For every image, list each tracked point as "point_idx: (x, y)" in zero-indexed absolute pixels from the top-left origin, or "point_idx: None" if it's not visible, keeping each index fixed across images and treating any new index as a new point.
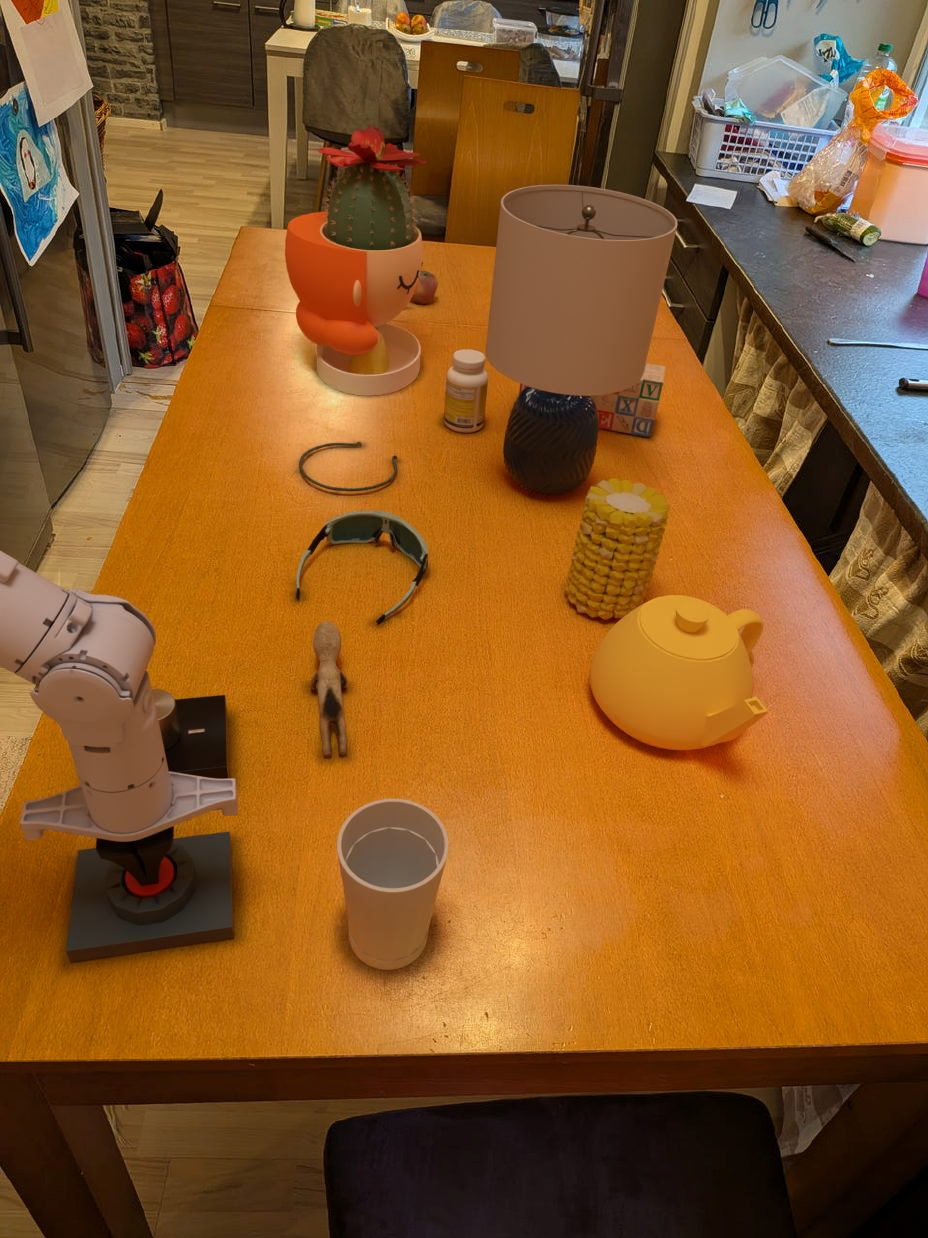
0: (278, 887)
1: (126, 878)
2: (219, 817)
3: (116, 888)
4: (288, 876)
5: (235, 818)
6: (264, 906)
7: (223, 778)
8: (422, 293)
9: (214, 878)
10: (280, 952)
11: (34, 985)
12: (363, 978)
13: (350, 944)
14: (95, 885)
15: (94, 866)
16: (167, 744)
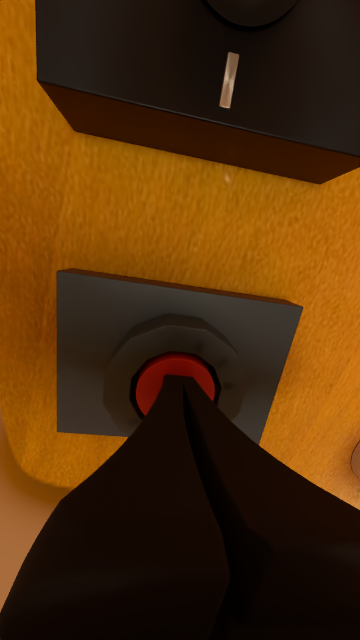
0: (315, 379)
1: (137, 394)
2: (285, 245)
3: (121, 404)
4: (332, 368)
5: (306, 255)
6: (291, 398)
7: (335, 173)
8: None
9: (258, 381)
10: (287, 447)
11: (31, 425)
12: (345, 483)
13: (353, 457)
14: (90, 348)
15: (87, 313)
16: (280, 3)
